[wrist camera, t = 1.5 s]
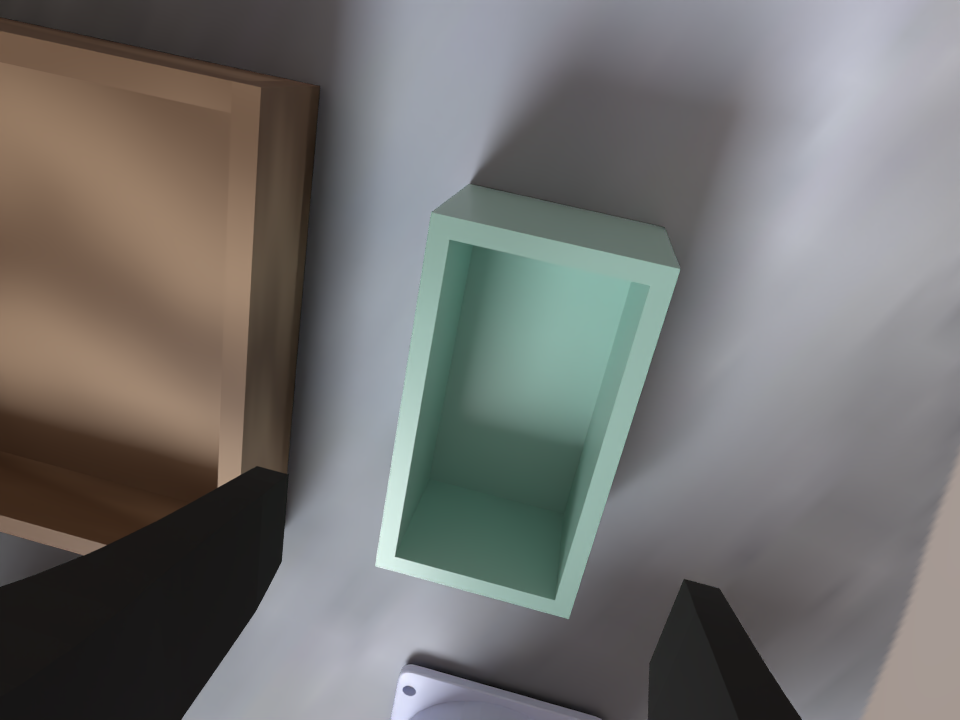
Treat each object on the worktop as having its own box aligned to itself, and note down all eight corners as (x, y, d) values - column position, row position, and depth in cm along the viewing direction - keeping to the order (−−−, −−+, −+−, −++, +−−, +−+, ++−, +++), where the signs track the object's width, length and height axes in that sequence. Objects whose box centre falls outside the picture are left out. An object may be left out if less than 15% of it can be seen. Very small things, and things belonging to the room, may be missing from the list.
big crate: (282, 531, 25) (234, 598, 22) (-49, 441, 26) (-141, 491, 23) (320, 86, 19) (260, 87, 16) (-117, -8, 20) (-256, -25, 17)
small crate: (575, 521, 23) (568, 619, 18) (416, 479, 23) (375, 566, 19) (664, 227, 19) (680, 269, 14) (469, 183, 19) (431, 212, 15)
